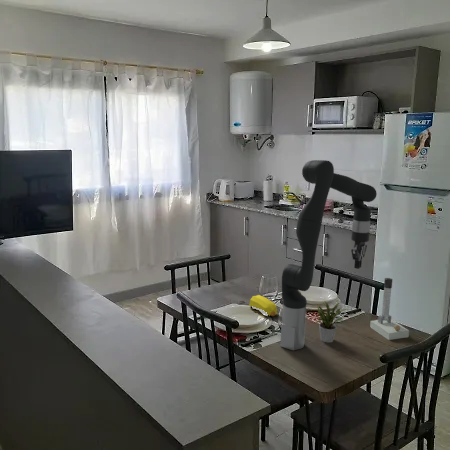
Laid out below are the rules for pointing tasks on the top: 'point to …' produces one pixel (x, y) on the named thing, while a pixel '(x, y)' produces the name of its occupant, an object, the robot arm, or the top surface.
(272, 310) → the yellow curved elongated piece
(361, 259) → the robot arm
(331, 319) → the house plant
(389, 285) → the press lever
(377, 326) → the press base
